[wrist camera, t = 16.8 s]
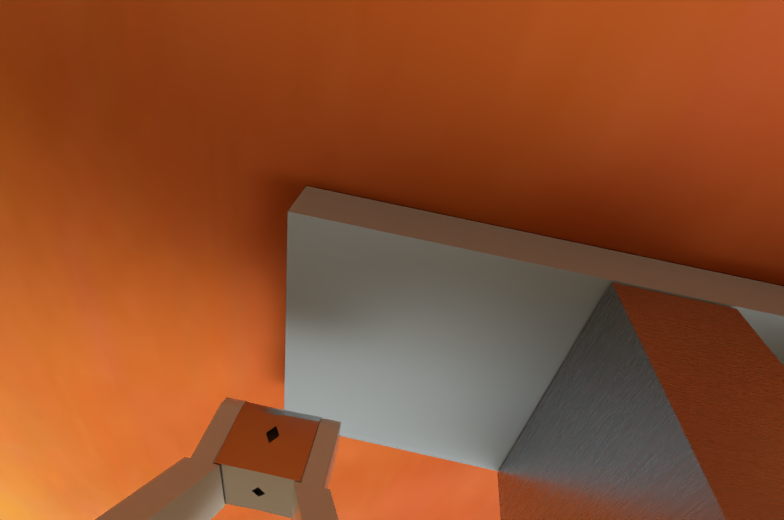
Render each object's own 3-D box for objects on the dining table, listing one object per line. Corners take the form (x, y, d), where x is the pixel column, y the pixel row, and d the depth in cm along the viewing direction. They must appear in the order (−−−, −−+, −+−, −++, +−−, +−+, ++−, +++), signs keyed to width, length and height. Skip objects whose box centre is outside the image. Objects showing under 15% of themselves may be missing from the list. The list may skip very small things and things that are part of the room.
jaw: (497, 473, 15) (514, 712, 10) (611, 282, 10) (754, 579, 5) (579, 491, 15) (635, 740, 10) (736, 308, 10) (1003, 635, 5)
